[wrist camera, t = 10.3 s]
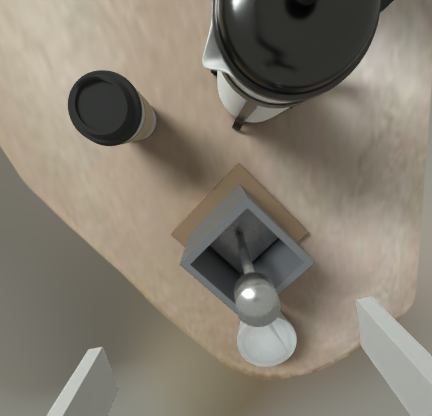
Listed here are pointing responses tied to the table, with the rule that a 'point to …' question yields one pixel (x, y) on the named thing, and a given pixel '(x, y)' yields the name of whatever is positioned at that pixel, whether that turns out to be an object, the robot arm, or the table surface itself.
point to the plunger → (249, 268)
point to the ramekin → (267, 342)
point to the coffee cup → (110, 109)
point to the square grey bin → (221, 218)
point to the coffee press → (285, 50)
